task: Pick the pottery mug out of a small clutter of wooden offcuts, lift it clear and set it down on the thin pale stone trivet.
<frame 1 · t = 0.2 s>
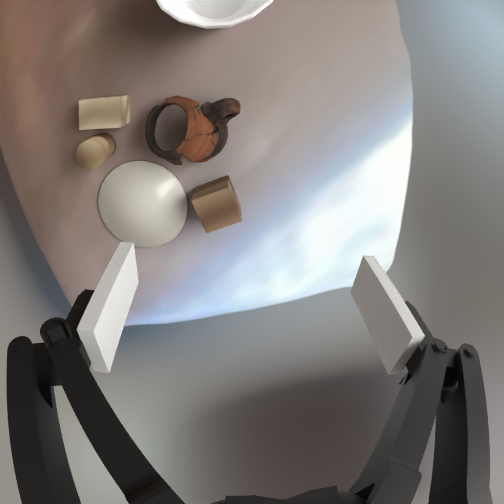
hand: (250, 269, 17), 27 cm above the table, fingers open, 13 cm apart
maple block: (110, 109, 34), on the table
trivet: (141, 205, 42), on the table
oak dowel offcut: (103, 146, 37), on the table
cup: (219, 0, 27), on the table
pottery mug: (198, 123, 37), on the table
walnut block: (218, 196, 42), on the table
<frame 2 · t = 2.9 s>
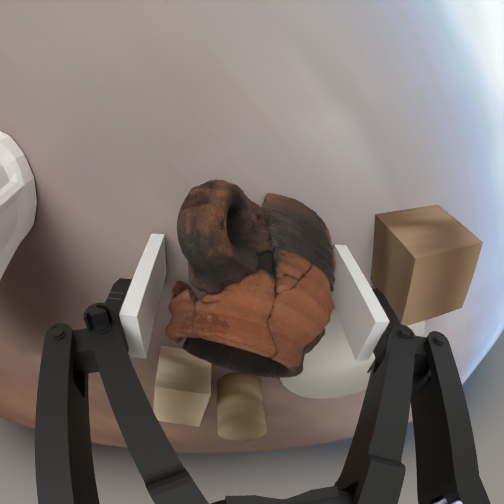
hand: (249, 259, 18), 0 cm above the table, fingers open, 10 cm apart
maple block: (182, 369, 24), on the table
trivet: (355, 354, 25), on the table
oak dowel offcut: (238, 384, 25), on the table
pottery mug: (245, 248, 18), on the table, touching gripper
walnut block: (404, 241, 19), on the table
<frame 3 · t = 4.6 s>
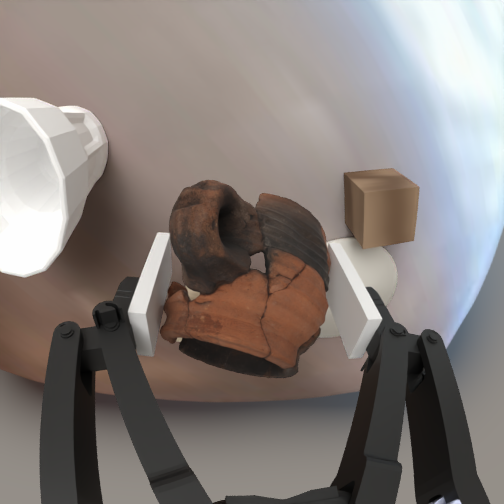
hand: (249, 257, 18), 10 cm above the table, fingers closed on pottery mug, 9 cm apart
trivet: (339, 292, 32), on the table
cup: (70, 149, 23), on the table
pottery mug: (240, 248, 18), point 9 cm above the table, touching gripper
walnut block: (368, 195, 26), on the table
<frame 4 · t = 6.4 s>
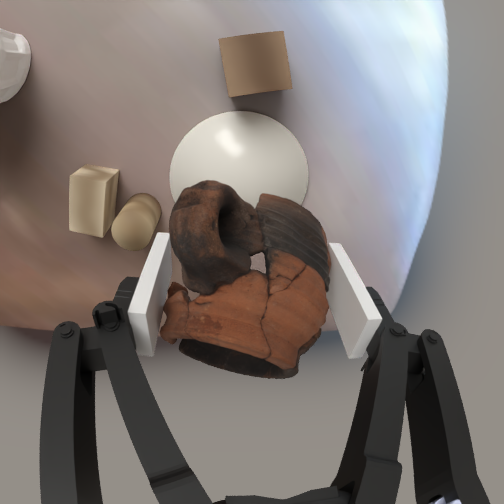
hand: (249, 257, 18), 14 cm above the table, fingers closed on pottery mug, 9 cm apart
maple block: (100, 192, 29), on the table
trivet: (239, 179, 30), on the table
oak dowel offcut: (143, 210, 31), on the table
cup: (6, 67, 19), on the table
pottery mug: (240, 249, 18), point 14 cm above the table, touching gripper
walnut block: (251, 66, 24), on the table
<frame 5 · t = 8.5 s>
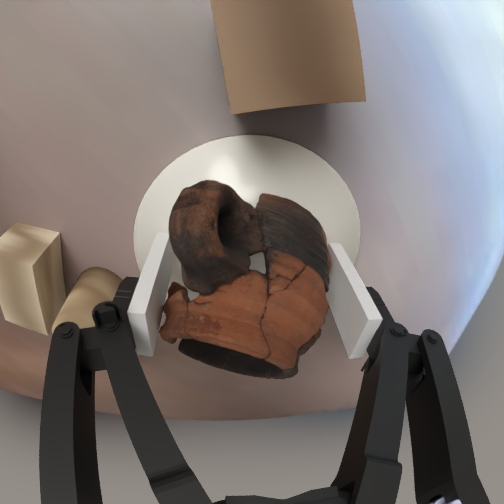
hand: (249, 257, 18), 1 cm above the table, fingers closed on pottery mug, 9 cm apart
maple block: (41, 262, 18), on the table
trivet: (248, 250, 18), on the table
oak dowel offcut: (103, 290, 19), on the table
pottery mug: (240, 249, 18), resting on trivet, touching gripper
walnut block: (272, 52, 12), on the table
when the fingers open (1 cm above the table, at t = 9.7 s): pottery mug stays where it is, resting on trivet.
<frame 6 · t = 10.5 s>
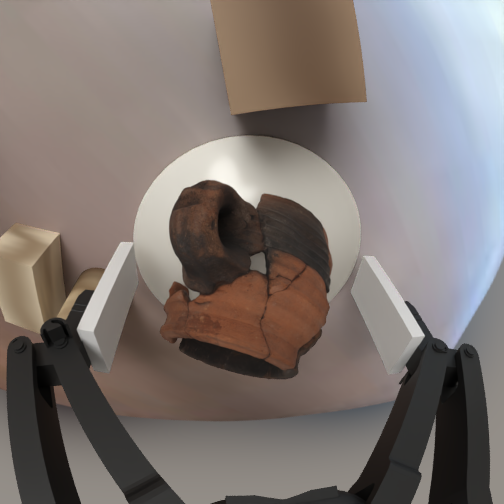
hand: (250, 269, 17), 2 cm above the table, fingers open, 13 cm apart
maple block: (41, 262, 18), on the table
trivet: (248, 251, 18), on the table
oak dowel offcut: (102, 290, 19), on the table
pottery mug: (241, 249, 18), resting on trivet
walnut block: (272, 52, 12), on the table
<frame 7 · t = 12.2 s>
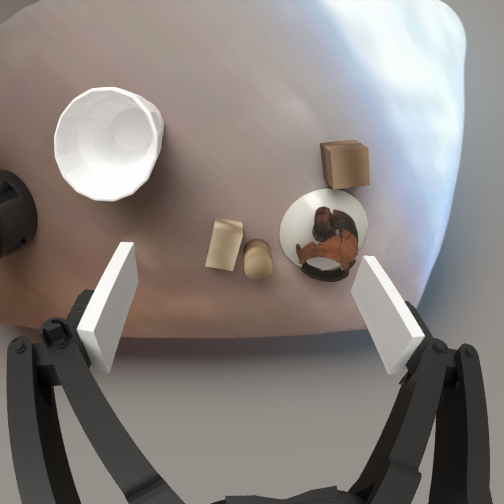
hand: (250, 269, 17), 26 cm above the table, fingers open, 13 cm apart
maple block: (224, 237, 45), on the table
trivet: (324, 231, 45), on the table
oak dowel offcut: (256, 250, 46), on the table
cup: (135, 128, 36), on the table
pottery mug: (323, 230, 45), resting on trivet
walnut block: (338, 158, 39), on the table
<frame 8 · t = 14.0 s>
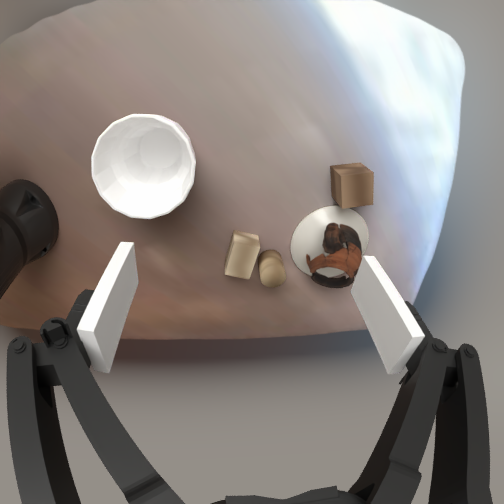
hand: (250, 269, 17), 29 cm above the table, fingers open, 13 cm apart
maple block: (241, 248, 50), on the table
trivet: (330, 243, 50), on the table
oak dowel offcut: (269, 259, 51), on the table
cup: (161, 146, 40), on the table
pottery mug: (330, 242, 50), resting on trivet
walnut block: (345, 179, 44), on the table
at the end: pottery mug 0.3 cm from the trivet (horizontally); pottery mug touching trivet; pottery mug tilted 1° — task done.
